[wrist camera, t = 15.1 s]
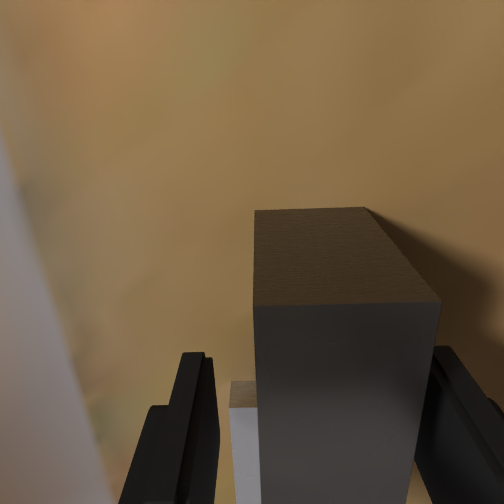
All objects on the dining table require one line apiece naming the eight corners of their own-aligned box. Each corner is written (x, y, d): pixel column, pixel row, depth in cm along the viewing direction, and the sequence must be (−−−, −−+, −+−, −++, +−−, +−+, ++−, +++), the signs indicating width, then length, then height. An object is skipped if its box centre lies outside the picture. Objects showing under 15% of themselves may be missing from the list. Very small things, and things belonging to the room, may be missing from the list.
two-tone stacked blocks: (218, 211, 11) (191, 307, 6) (400, 205, 11) (506, 300, 6) (242, 529, 17) (236, 702, 12) (362, 528, 16) (402, 702, 12)
